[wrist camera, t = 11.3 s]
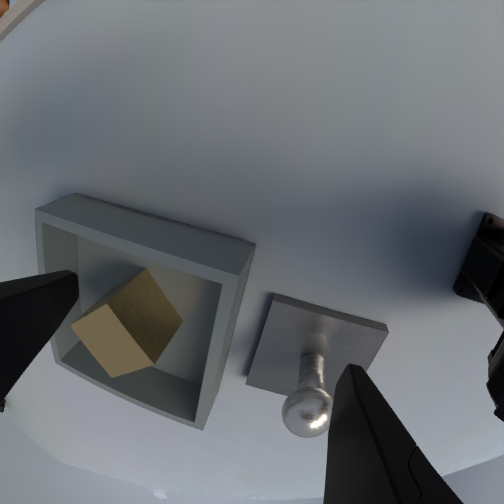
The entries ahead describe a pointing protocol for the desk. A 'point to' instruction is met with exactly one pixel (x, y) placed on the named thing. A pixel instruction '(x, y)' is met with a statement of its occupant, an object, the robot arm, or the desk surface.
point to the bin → (170, 282)
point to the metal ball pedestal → (310, 359)
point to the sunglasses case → (3, 7)
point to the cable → (2, 406)
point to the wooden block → (129, 325)
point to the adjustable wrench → (16, 15)
